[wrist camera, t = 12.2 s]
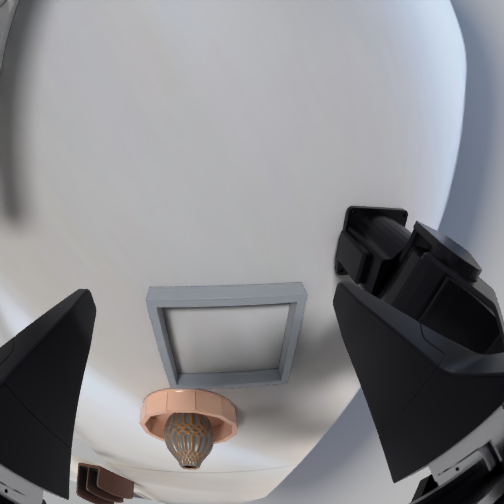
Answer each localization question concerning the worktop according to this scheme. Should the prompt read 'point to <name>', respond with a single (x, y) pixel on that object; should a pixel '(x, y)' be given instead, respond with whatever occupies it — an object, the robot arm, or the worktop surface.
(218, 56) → the worktop surface
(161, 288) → the parts tray
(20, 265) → the worktop surface
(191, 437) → the vase
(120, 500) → the letter holder
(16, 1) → the test tube rack
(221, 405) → the bowl
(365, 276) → the robot arm
